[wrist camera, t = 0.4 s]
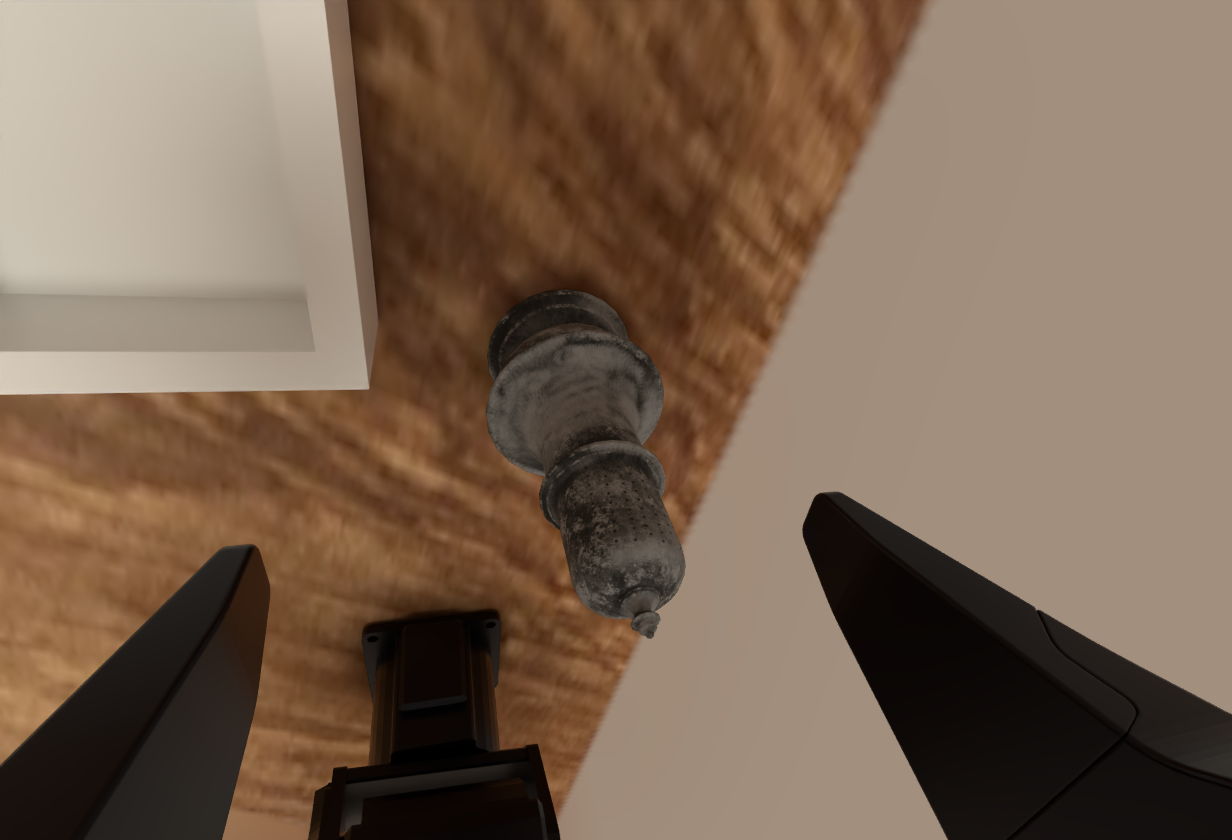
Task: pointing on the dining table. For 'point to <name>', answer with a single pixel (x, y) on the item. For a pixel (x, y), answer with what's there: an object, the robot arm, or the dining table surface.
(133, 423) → the dining table surface
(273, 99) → the condiment caddy
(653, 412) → the grey stone turned post
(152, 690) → the robot arm
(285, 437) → the dining table surface
